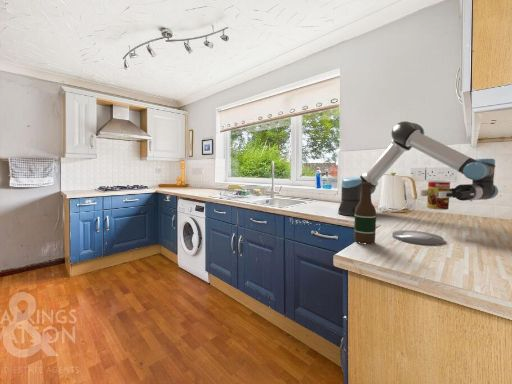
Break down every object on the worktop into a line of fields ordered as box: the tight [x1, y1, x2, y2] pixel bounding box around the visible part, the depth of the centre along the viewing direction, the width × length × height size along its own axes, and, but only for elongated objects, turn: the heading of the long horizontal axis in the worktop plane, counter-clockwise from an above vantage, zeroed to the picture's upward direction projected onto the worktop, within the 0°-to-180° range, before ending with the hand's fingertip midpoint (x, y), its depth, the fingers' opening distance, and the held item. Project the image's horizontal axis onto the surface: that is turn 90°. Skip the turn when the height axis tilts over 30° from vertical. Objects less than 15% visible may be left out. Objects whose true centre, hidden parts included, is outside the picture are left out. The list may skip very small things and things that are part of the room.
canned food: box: [426, 180, 451, 211], centre depth 112 cm, size 8×8×12 cm
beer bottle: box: [353, 182, 377, 245], centre depth 99 cm, size 8×8×24 cm
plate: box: [392, 229, 445, 246], centre depth 104 cm, size 18×18×1 cm
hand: (430, 194), depth 110 cm, fingers closed on canned food, 8 cm apart
